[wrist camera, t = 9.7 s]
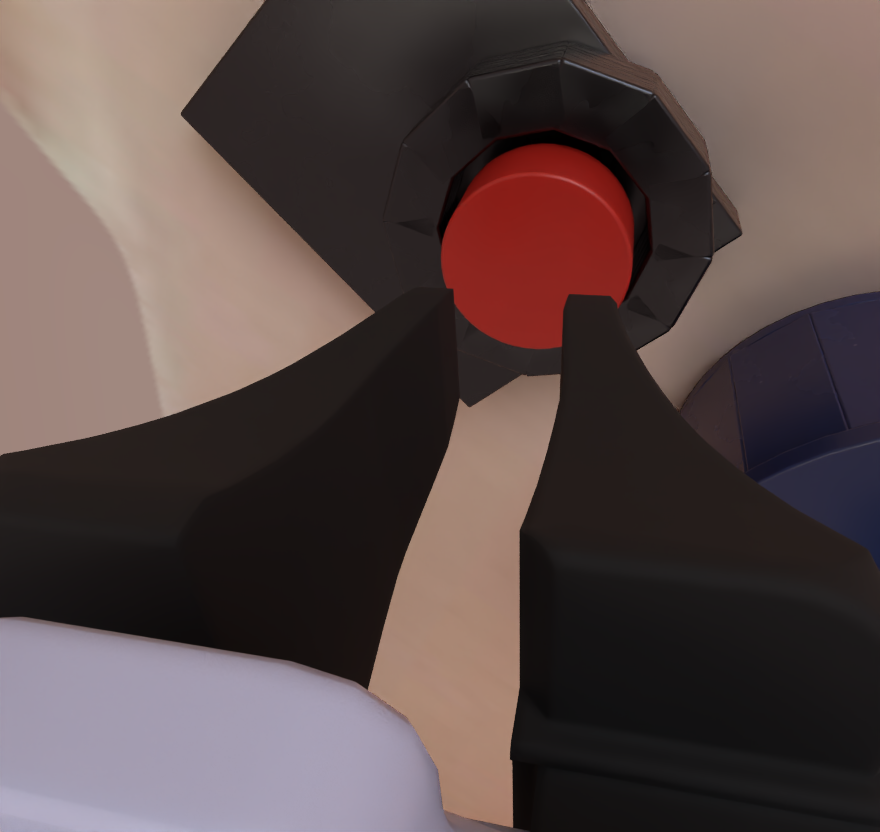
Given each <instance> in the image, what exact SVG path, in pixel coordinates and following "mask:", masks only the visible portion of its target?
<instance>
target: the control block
mask: <svg viewBox="0 0 880 832" xmlns="http://www.w3.org/2000/svg"><path fill="white" fill-rule="evenodd" d="M181 116H182V117H183V118H184V119H185V120H186V121H187V122H188V123H189V124H190V125H191V126H192V127H193V128H194V129H195V130H196V131H197V132H198V133H199V134H200V135H201V136H202V137H203V138H204V139H205V140H206V141H207V142H208V143H209V144H210V145H211V146H212V147H213V148H214V149H215V150H216V151H217V152H218V153H219V154H220V155H221V156H222V157H223V158H224V159H225V160H226V161H227V162H228V163H229V164H230V165H231V166H232V167H233V169H234V170H235V171H236V172H237V173H238V174H239V175H240V176H241V177H242V178H243V179H244V180H245V181H246V182H247V183H248V184H249V185H250V186H251V187H252V188H253V189H254V190H255V191H256V192H257V193H258V194H259V195H260V196H261V197H262V198H263V199H264V200H265V201H266V202H267V203H268V204H269V205H270V206H271V207H272V208H273V209H274V210H275V211H276V212H277V213H278V214H279V215H280V216H281V217H282V218H283V219H284V220H285V221H286V222H287V223H288V224H289V225H290V226H291V227H292V228H293V229H294V230H295V231H296V232H297V233H298V234H299V235H300V236H301V237H302V238H303V239H304V241H305V242H306V243H307V244H308V245H309V246H310V247H311V248H312V249H313V250H314V251H315V252H316V253H317V254H318V255H319V256H320V257H321V258H322V259H323V260H324V261H325V262H326V263H327V264H328V265H329V266H330V267H331V268H332V269H333V270H334V271H335V272H336V273H337V274H338V275H339V276H340V277H341V278H342V279H343V280H344V281H345V282H346V283H347V284H348V285H349V286H350V287H351V288H352V289H353V290H354V291H355V292H356V293H357V294H358V295H359V296H360V297H361V298H362V299H363V300H364V301H365V302H366V303H367V304H368V305H369V306H370V307H371V308H372V309H373V310H374V311H375V312H377V311H378V310H380V309H381V308H383V307H384V306H386V305H387V304H389V303H390V302H392V301H393V300H395V299H396V298H398V297H399V296H401V295H402V294H404V293H406V292H407V291H409V290H411V289H413V288H415V287H428V288H446V285H445V282H444V279H443V274H442V268H441V246H442V241H443V237H444V233H445V230H446V227H447V225H448V222H449V220H450V219H451V217H452V215H453V213H454V211H455V210H456V208H457V206H458V204H459V202H460V201H461V199H462V197H463V195H464V193H465V192H466V190H467V188H468V186H469V184H470V183H471V181H472V180H473V179H474V177H475V176H476V175H477V173H478V172H479V171H480V170H481V169H482V168H483V167H484V166H485V165H487V164H488V163H489V162H491V161H492V160H493V159H495V158H496V157H498V156H500V155H501V154H503V153H505V152H507V151H510V150H512V149H515V148H518V147H522V146H526V145H531V144H540V143H546V144H559V145H565V146H569V147H572V148H575V149H578V150H581V151H583V152H585V153H587V154H589V155H591V156H592V157H594V158H596V159H597V160H599V161H600V162H601V163H603V164H604V165H605V166H606V167H607V168H608V169H609V170H610V171H611V172H612V173H613V174H614V175H615V176H616V177H617V179H618V180H619V182H620V183H621V185H622V186H623V188H624V190H625V192H626V194H627V196H628V198H629V201H630V204H631V207H632V212H633V218H634V247H633V267H632V275H631V280H630V284H629V288H628V291H627V293H626V295H625V298H624V300H623V302H622V303H621V305H620V307H619V308H618V311H619V314H620V317H621V320H622V322H623V325H624V327H625V329H626V332H627V334H628V336H629V338H630V340H631V342H632V344H633V346H634V348H635V349H636V350H638V349H640V348H641V347H643V346H645V345H646V344H648V343H650V342H652V341H653V340H655V339H657V338H658V337H660V336H662V335H663V334H665V333H667V332H668V331H669V330H670V329H671V328H672V327H673V326H674V325H675V323H676V322H677V320H678V318H679V316H680V315H681V313H682V311H683V310H684V308H685V306H686V305H687V303H688V301H689V299H690V298H691V296H692V294H693V293H694V291H695V289H696V287H697V286H698V284H699V282H700V281H701V279H702V277H703V276H704V274H705V272H706V270H707V269H708V267H709V265H710V264H711V262H712V256H713V254H714V252H716V251H717V250H719V249H721V248H722V247H724V246H725V245H727V244H728V243H730V242H732V241H733V240H735V239H736V238H738V237H740V236H741V235H742V229H741V225H740V221H739V217H738V213H737V210H736V209H735V207H734V206H733V205H732V203H731V202H730V200H729V199H728V198H727V196H726V195H725V194H724V192H723V191H722V189H721V188H720V187H719V185H718V184H717V183H716V181H715V180H714V178H713V177H712V173H711V168H710V162H709V157H708V151H707V148H706V144H705V140H704V139H703V137H702V136H701V134H700V133H699V132H698V130H697V129H696V127H695V126H694V125H693V123H692V122H691V120H690V119H689V118H688V116H687V115H686V113H685V112H684V111H683V109H682V108H681V106H680V105H679V104H678V102H677V101H676V99H675V98H674V97H673V95H672V94H671V93H670V91H669V90H668V88H667V87H666V86H665V84H664V83H663V81H662V80H661V79H660V77H659V76H658V74H656V73H654V72H653V71H652V70H650V69H647V68H645V67H642V66H639V65H637V64H634V63H631V62H629V61H628V60H627V59H626V57H625V56H624V55H623V53H622V52H621V50H620V49H619V48H618V46H617V45H616V44H615V42H614V41H613V39H612V38H611V37H610V35H609V34H608V33H607V31H606V30H605V28H604V27H603V26H602V24H601V23H600V22H599V20H598V19H597V17H596V16H595V15H594V13H593V12H592V10H591V9H590V8H589V6H588V5H587V4H586V2H585V1H584V0H265V2H264V3H263V4H262V6H261V7H260V8H259V10H258V11H257V12H256V14H255V15H254V16H253V18H252V19H251V20H250V22H249V23H248V24H247V26H246V27H245V28H244V30H243V31H242V32H241V34H240V35H239V36H238V38H237V39H236V40H235V42H234V43H233V44H232V45H231V47H230V48H229V49H228V51H227V52H226V53H225V55H224V56H223V57H222V59H221V60H220V61H219V63H218V64H217V65H216V67H215V68H214V69H213V71H212V72H211V73H210V75H209V76H208V77H207V79H206V80H205V81H204V83H203V84H202V85H201V86H200V88H199V89H198V90H197V92H196V93H195V94H194V96H193V97H192V98H191V100H190V101H189V102H188V104H187V105H186V106H185V108H184V109H183V110H182V112H181ZM454 306H455V323H456V340H457V357H458V374H459V390H460V399H461V400H462V401H463V402H464V403H465V404H466V405H467V406H468V407H471V406H473V405H474V404H476V403H478V402H479V401H481V400H482V399H484V398H486V397H487V396H489V395H490V394H492V393H493V392H495V391H497V390H498V389H500V388H501V387H503V386H504V385H506V384H508V383H509V382H511V381H512V380H514V379H515V378H517V377H519V376H520V375H522V374H523V375H527V376H539V375H552V374H561V353H562V347H556V348H550V349H529V348H521V347H516V346H512V345H509V344H506V343H503V342H500V341H498V340H496V339H494V338H491V337H490V336H488V335H486V334H485V333H483V332H481V331H480V330H479V329H477V328H476V327H475V326H473V325H472V324H471V323H470V322H469V321H468V320H467V319H466V318H465V317H464V316H463V314H462V313H461V312H460V311H459V310H458V308H457V307H456V305H455V304H454Z"/></svg>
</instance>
